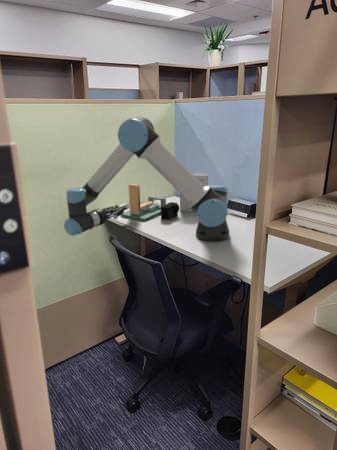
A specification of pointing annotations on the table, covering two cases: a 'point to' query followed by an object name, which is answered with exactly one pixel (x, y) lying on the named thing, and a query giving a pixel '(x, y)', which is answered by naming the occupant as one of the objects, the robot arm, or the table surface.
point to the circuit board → (143, 215)
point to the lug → (151, 199)
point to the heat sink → (151, 207)
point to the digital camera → (169, 211)
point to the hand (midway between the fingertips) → (127, 205)
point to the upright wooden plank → (136, 200)
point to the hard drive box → (183, 201)
